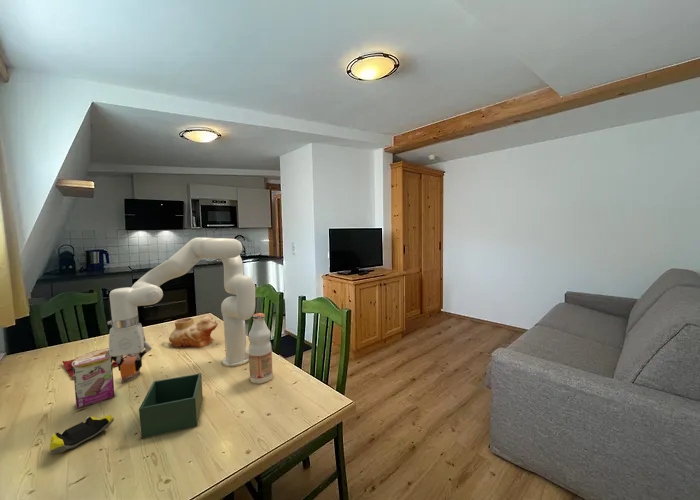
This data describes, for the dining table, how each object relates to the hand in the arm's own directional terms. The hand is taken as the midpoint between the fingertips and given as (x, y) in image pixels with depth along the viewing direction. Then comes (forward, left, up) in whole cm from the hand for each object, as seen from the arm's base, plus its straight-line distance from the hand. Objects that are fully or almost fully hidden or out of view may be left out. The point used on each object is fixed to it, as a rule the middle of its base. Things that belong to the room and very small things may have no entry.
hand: (130, 370), depth 109 cm
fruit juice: (-46, -2, -14) cm, 48 cm away
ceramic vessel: (-14, -56, -14) cm, 59 cm away
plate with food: (+25, -48, -14) cm, 56 cm away
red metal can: (+7, -24, -14) cm, 28 cm away
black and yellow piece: (+9, +16, -14) cm, 23 cm away
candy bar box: (+14, -9, -14) cm, 22 cm away
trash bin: (-16, +13, -13) cm, 25 cm away
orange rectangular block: (0, 0, 0) cm, 0 cm away
